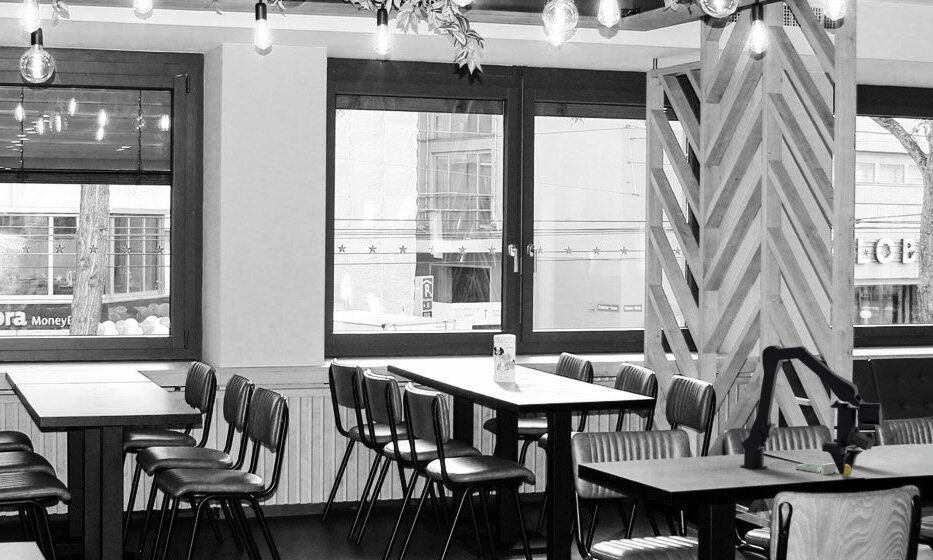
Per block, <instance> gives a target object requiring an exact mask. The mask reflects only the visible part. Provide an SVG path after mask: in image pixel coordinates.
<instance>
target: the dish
mask: <svg viewBox="0 0 933 560" xmlns="http://www.w3.org/2000/svg"><path fill="white" fill-rule="evenodd" d="M821 465H822V464H816V463H812V462H811V463H810V462H806V463H801V464H795V470H796V469H799V470H798V471H802V470H806V471H805V472H808V471H813V472H812V473H815V472H819V473H821V472H820V471H821Z"/></svg>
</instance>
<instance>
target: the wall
mask: <svg viewBox="0 0 933 560" xmlns="http://www.w3.org/2000/svg"><path fill="white" fill-rule="evenodd" d="M820 465H821V472H820V473H821V475H823V474H825V475H829V474H828V473H830V474H833V473H832V472H836V473H837V467H836V464H835V462H829V463H828V462H827V463H823V464H820Z"/></svg>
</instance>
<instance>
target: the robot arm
mask: <svg viewBox="0 0 933 560" xmlns="http://www.w3.org/2000/svg"><path fill="white" fill-rule="evenodd" d="M761 356H762V357H761V359H762V360H761V364H762V368H763V369H762V370H763V375H762V376H763V377H762V381H761V382H762V383H761V388H760V394H759V395H760V396H759V401H758V406H757V413H756V417H755V419H754V421H753V423H752V425H751V428H750V431H749V433H748V434H749V435H748V437H747V438H746V439H745V440H743V441H742V442H741V445H742V448H743V451H744V453H743V457H744V459H743V464H739V467H740V466H741V467H740V468H745V467H746V468H747V469H751V468H753V470H761V469H760V468H762V469H767V468H768V465H764V463H765V462H764V461H765V460H764V459H765V452H764V451H765V450H764V448H765V447H766V445H767V443H769V442H770V441H771V440H772V437H775V428H776V423H773V422H772V410H773V404H774V398H775V393H776V392H775V391H776V386H777V385H776V384H777V378H778V374H779V372H780V370H781V368H782V365H783V363H784V361H785V360H799V361H800V362H801V363H802V364H803V365H804V366H806V367H807V368H808V369H809V370H810V371H811V372H812V373H814V374H815V375H816V376H817V377H818V378H820V380H822V381H823V382H824V383H825V384H826V385H827V387H828V388H829V389H830V390H831V391H832V393H833V394H834V395H835V397H836V398H837V399H836V400H835V401H834V402H833V403H832V404H831V405H830V408H831V409H836V410H837V426H836V425H834V426H833V430H835V429H836V430H837V433H836V432H835V436H836V437H835V438H833V441H826V442H823V444H822V445H821V451H822V452H826V453H828V454H830V456H831V458H832V460H833V463H835V464H836V470H837V471H838V474H839V473H840V474H844V468H845V464H848V465H849V466H850V467H851V468H852V469H853V467H854V466H853V464H854V461H855V459H856V456H857V457H858V456H859V455H860V454H861V453H863V451H867V450H871V449H872V448H873V445H876V435H875V433H873V432H867V433H862V432H860V427H859V426H858V427H856V410H857V411H858V414H857V418H858V422H860V424H861V425H867V426H877V427H881V426H882V423H883V411H882V404H881V403H880V402H879V403H878V402H877V403H875V402H874V403H871V402H865V400H863V398H862V397H861V395H860V394H859V389H858V388H859V387H858V386H857V385H856V384H855V383H853V382H852V381H850V380H848V379H847V378H845V377H842V376H840V375H838V374H837V373H835V371H833V370H831V368H829V366H827V365H826V364H825V363H823V362H822V361H821V360H820V359H819V358H818V357H816V356H815V355H814V354H813V353H812V352H810V351H809V349H808V348H807V347H805V346H803V345H802V346H801V345H800V346H794V347H793V346H792V347H782V346H780V345H778V344H777V345H776V344H775V345H773V344H772V345H769V346H766V347H765V348H763V350H762V353H761ZM839 400H840V401H843V402H848V403H841V402H840V401H839ZM849 403H850V404H851V405H852V406H855V407H852V406H850V404H849ZM766 467H767V468H766ZM840 474H839V475H840Z"/></svg>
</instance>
